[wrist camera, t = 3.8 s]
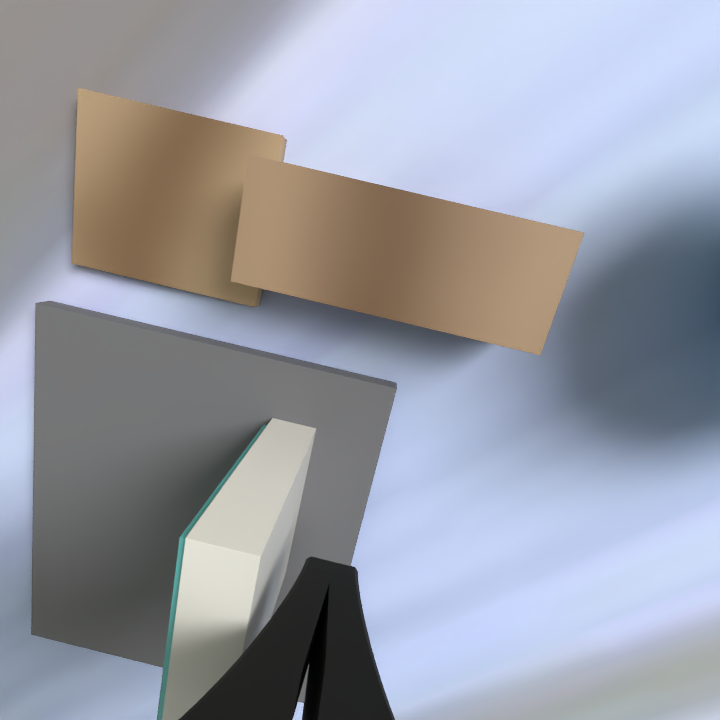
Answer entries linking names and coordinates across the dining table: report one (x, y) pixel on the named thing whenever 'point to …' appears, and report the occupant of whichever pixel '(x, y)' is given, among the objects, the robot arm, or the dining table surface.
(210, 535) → the block
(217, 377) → the mat
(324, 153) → the dining table surface
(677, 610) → the dining table surface
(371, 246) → the overlapping tan boards
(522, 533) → the dining table surface
